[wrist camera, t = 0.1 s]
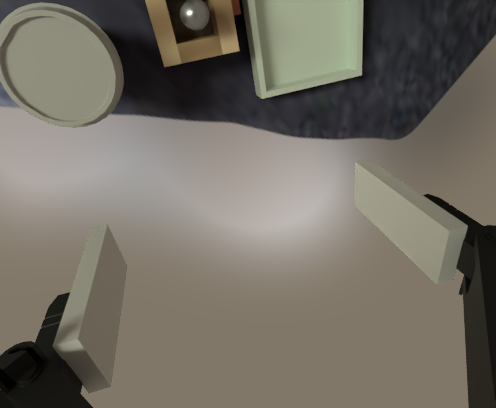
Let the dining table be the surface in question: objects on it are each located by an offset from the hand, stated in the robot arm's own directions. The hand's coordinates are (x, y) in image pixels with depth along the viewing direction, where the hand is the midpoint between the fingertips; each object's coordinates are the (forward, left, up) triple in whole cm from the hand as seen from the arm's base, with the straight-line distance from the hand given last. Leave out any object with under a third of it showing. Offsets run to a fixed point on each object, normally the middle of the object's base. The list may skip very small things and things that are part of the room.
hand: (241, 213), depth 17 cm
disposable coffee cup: (-7, -10, -28) cm, 31 cm away
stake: (-9, +2, -28) cm, 29 cm away
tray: (-6, +15, -28) cm, 32 cm away
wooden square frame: (-9, +2, -26) cm, 28 cm away
